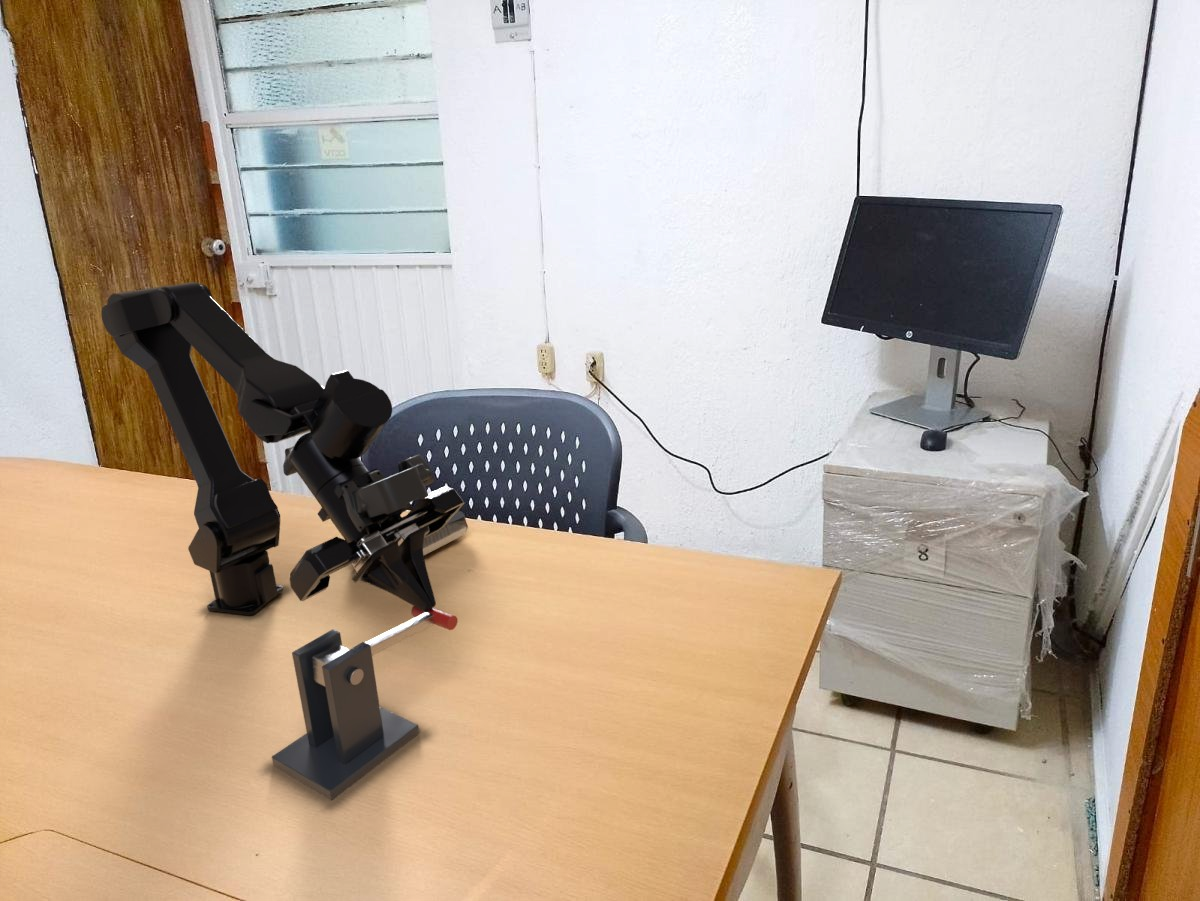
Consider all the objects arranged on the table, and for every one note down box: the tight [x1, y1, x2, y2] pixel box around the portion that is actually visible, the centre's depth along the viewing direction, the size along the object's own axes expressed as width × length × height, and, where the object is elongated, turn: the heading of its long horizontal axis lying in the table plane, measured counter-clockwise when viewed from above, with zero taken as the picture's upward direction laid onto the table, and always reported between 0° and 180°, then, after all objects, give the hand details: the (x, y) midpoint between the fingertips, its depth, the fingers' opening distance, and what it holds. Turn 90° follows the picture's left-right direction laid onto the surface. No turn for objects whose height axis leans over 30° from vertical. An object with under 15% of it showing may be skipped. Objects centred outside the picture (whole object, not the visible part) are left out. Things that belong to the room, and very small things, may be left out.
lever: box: [312, 605, 459, 686], centre depth 76 cm, size 14×5×2 cm, turn 146°
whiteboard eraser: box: [387, 509, 468, 556], centre depth 112 cm, size 16×8×4 cm, turn 143°
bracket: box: [271, 628, 420, 801], centre depth 73 cm, size 10×8×11 cm
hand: (431, 608), depth 81 cm, fingers closed
